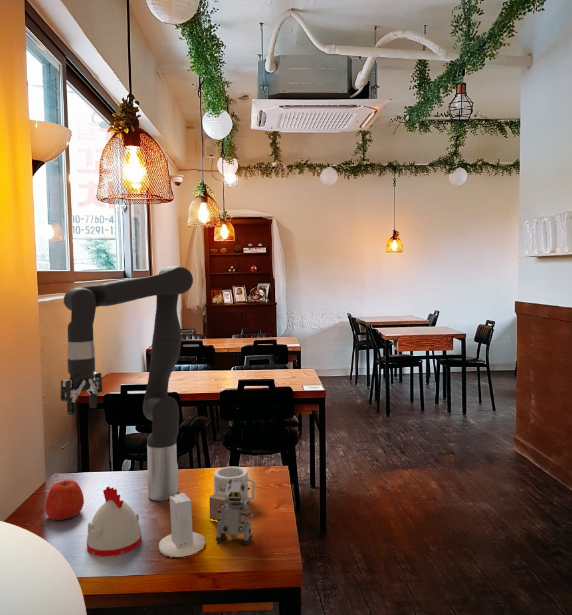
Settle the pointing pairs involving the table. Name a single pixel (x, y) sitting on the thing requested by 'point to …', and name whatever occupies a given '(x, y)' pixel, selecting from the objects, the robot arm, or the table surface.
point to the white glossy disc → (172, 550)
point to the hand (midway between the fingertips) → (82, 411)
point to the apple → (64, 500)
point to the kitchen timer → (113, 527)
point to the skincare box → (181, 520)
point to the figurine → (235, 512)
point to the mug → (229, 473)
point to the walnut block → (216, 503)
